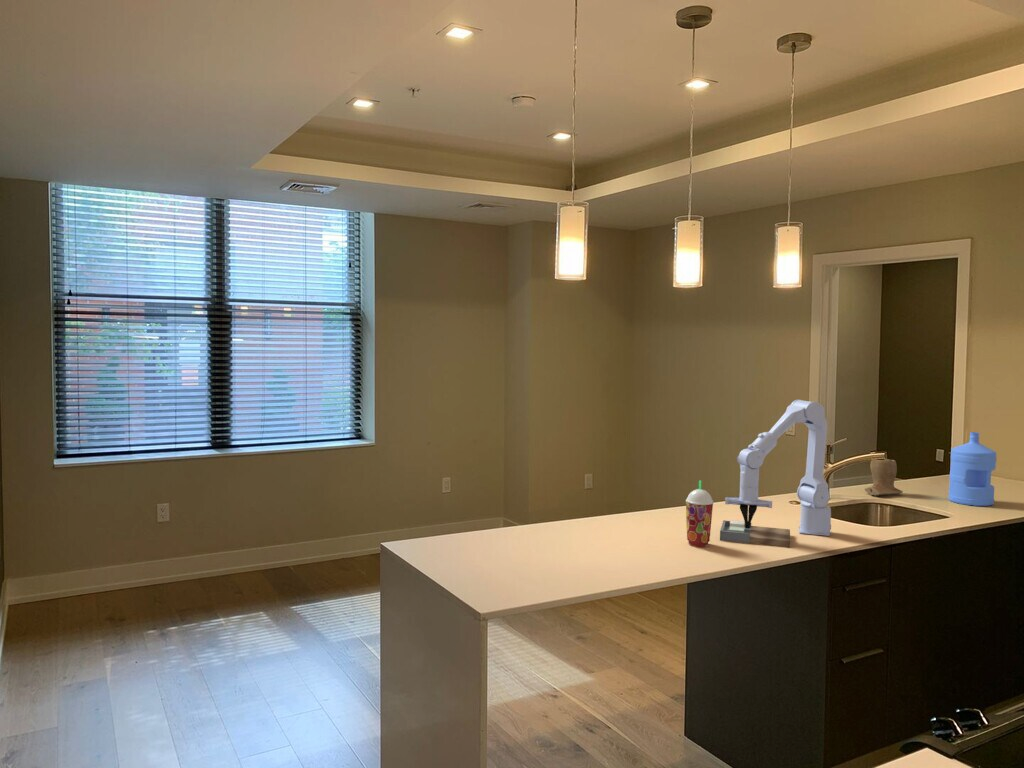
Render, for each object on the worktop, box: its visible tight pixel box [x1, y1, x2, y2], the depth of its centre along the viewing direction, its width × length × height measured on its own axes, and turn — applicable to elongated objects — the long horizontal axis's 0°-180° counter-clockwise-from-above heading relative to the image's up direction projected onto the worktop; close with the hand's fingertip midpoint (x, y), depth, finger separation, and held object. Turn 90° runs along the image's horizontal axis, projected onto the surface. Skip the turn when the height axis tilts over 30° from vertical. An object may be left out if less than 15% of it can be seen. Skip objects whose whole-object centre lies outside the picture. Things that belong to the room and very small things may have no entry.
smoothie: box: [685, 479, 714, 548], centre depth 239 cm, size 8×8×20 cm
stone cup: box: [864, 458, 903, 497], centre depth 320 cm, size 15×12×15 cm
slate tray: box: [719, 520, 752, 544], centre depth 250 cm, size 9×15×3 cm, turn 161°
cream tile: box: [729, 519, 745, 529], centre depth 252 cm, size 4×4×2 cm
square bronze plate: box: [749, 525, 792, 548], centre depth 247 cm, size 12×15×2 cm
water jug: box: [948, 431, 997, 507], centre depth 307 cm, size 16×16×28 cm
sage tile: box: [729, 526, 744, 533], centre depth 247 cm, size 4×4×2 cm
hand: (747, 527), depth 251 cm, fingers closed
